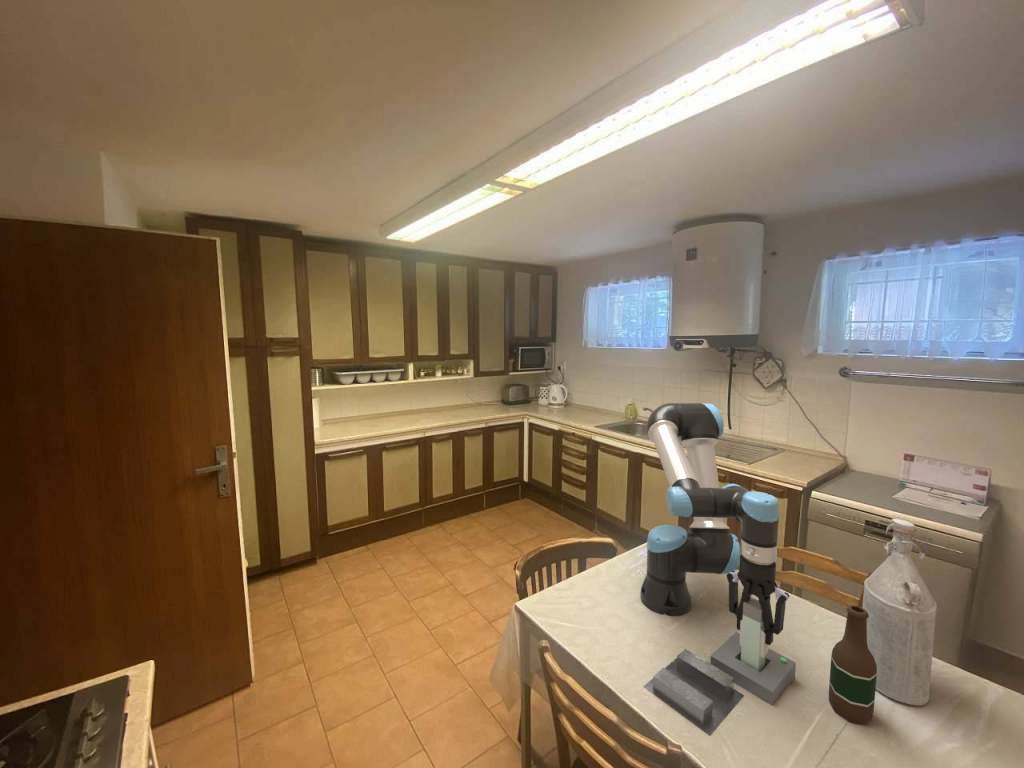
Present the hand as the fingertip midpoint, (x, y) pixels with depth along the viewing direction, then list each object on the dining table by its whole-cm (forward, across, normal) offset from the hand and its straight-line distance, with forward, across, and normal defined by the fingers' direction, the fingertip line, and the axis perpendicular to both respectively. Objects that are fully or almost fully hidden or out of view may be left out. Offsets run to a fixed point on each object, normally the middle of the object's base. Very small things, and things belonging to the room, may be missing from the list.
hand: (753, 648), depth 103 cm
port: (+7, 0, 0) cm, 7 cm away
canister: (+7, +22, +24) cm, 33 cm away
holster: (+7, -6, -17) cm, 19 cm away
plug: (+4, 0, 0) cm, 4 cm away
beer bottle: (+7, +18, +6) cm, 20 cm away
